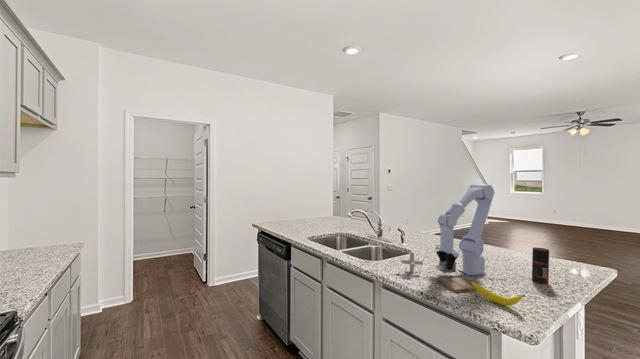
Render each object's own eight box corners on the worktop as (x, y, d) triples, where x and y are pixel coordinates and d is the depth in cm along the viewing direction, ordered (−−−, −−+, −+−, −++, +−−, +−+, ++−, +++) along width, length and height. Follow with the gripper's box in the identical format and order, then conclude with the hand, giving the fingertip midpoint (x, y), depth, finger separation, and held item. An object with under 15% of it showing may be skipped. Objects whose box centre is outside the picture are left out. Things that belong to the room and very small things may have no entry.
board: (460, 279, 131) (460, 277, 131) (480, 290, 119) (480, 287, 119) (437, 281, 128) (437, 279, 128) (454, 292, 116) (455, 289, 116)
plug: (451, 269, 139) (452, 260, 139) (457, 272, 135) (457, 262, 135) (434, 270, 137) (434, 261, 137) (439, 273, 133) (439, 263, 133)
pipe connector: (424, 276, 134) (424, 255, 134) (401, 275, 136) (402, 254, 136) (420, 270, 144) (421, 250, 143) (400, 268, 146) (400, 249, 145)
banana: (472, 292, 116) (473, 277, 116) (526, 312, 100) (526, 294, 100) (468, 294, 115) (469, 278, 115) (522, 314, 99) (522, 296, 99)
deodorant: (541, 285, 125) (542, 251, 125) (528, 280, 131) (529, 247, 131) (551, 284, 127) (552, 250, 127) (538, 279, 133) (539, 247, 132)
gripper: (430, 236, 142) (430, 263, 142) (449, 243, 128) (449, 273, 128) (442, 235, 143) (442, 262, 144) (463, 242, 129) (462, 272, 129)
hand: (446, 267), depth 136 cm, fingers closed on plug, 4 cm apart
